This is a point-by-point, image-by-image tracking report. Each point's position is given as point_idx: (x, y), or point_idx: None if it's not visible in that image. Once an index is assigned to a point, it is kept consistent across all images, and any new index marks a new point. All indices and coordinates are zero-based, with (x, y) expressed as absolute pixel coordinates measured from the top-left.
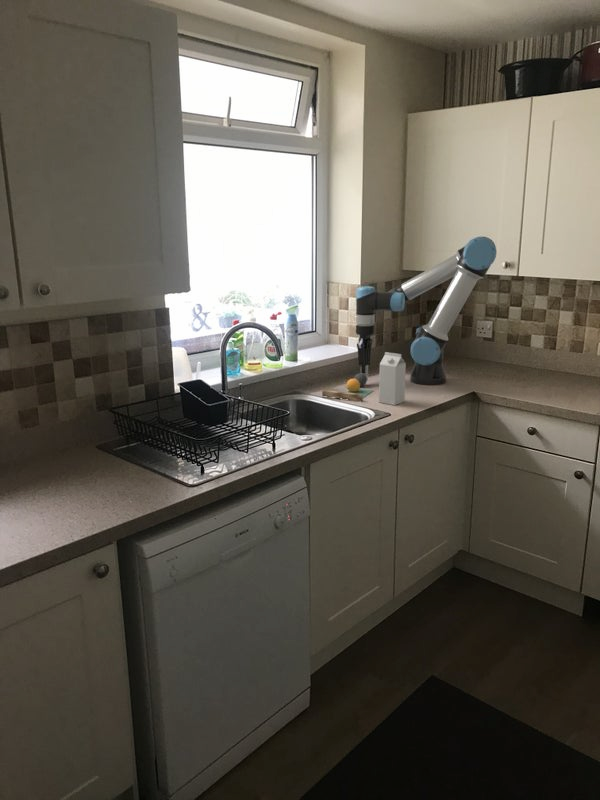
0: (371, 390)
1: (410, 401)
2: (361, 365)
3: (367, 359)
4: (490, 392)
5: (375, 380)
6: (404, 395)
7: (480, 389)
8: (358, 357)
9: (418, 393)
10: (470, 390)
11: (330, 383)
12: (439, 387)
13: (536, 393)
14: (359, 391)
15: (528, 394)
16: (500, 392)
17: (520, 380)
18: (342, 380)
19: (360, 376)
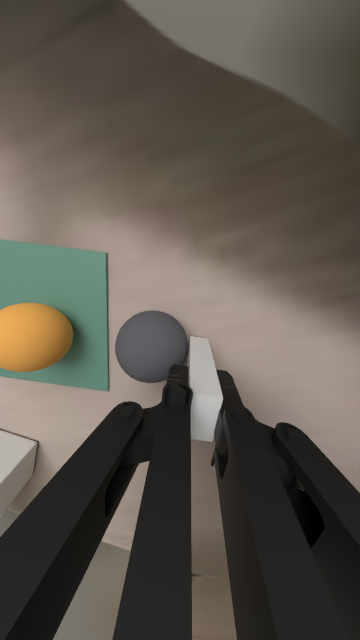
0: (104, 386)
1: (44, 484)
2: (155, 408)
3: (221, 504)
4: (196, 592)
5: (286, 372)
6: (14, 497)
7: (218, 584)
8: (24, 511)
9: (133, 496)
10: (203, 572)
11: (175, 156)
12: (217, 531)
13: (209, 631)
14: (69, 349)
15: (198, 624)
16: (201, 602)
17: None
18: (266, 212)
19: (120, 364)
